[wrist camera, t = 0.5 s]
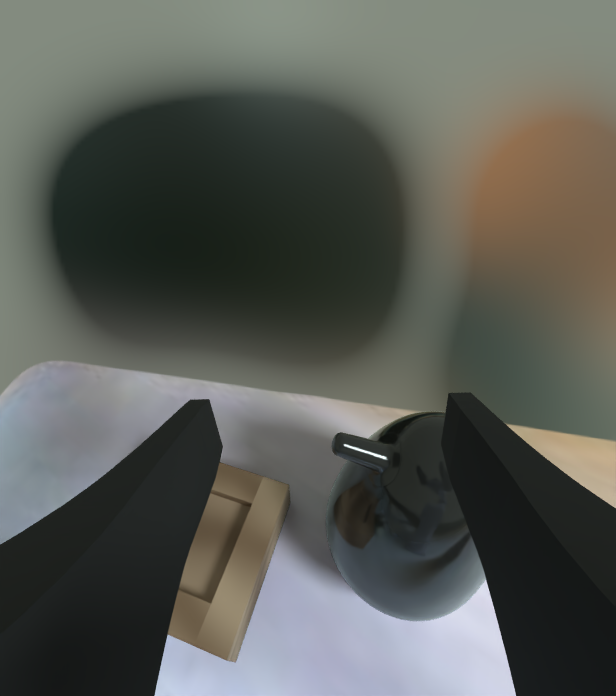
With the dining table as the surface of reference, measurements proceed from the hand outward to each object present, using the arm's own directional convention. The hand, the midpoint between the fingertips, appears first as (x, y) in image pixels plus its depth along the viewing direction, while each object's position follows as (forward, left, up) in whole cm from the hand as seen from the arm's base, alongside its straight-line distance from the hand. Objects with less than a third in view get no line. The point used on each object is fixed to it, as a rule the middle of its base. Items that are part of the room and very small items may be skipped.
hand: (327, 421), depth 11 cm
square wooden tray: (-1, +8, -20) cm, 21 cm away
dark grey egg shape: (+3, -5, -20) cm, 21 cm away
